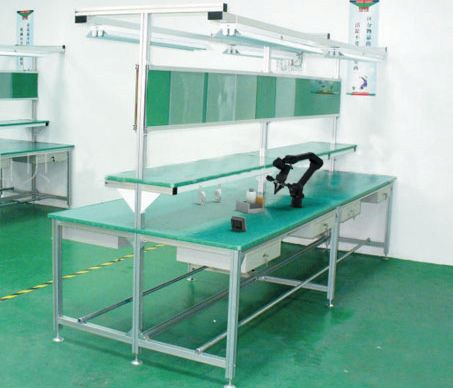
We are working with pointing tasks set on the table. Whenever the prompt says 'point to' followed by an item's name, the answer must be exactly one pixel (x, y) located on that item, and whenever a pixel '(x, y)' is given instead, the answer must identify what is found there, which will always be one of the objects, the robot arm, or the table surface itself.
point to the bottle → (251, 196)
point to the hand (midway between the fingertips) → (274, 194)
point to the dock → (246, 208)
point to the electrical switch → (238, 223)
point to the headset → (216, 195)
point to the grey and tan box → (257, 203)
